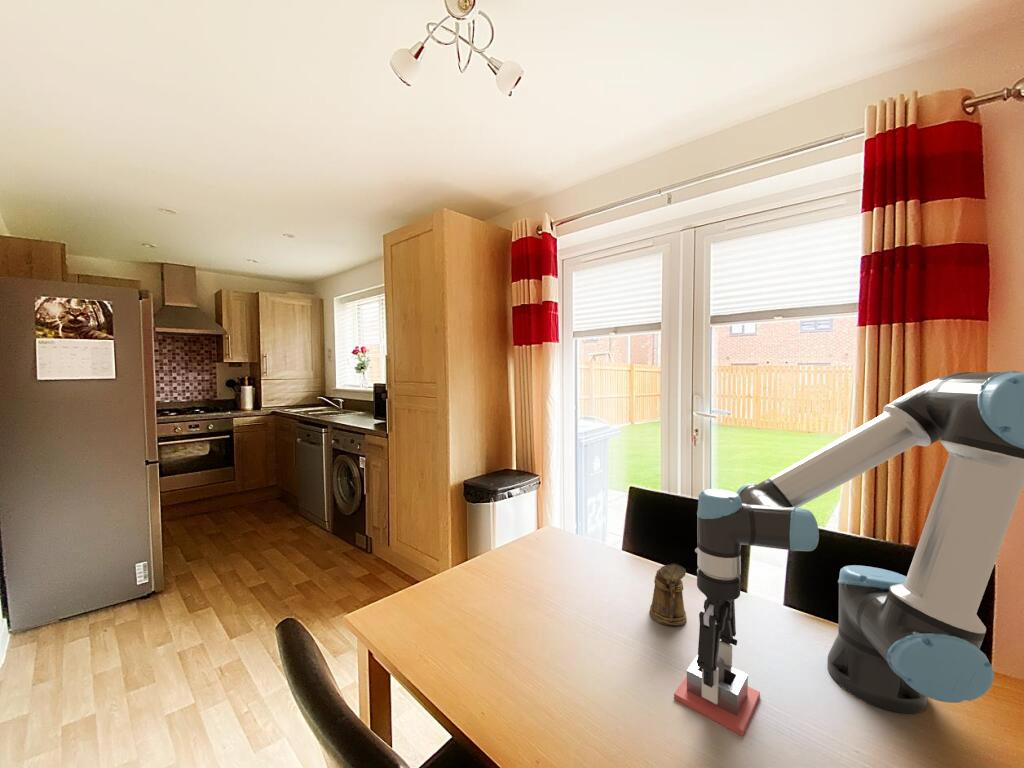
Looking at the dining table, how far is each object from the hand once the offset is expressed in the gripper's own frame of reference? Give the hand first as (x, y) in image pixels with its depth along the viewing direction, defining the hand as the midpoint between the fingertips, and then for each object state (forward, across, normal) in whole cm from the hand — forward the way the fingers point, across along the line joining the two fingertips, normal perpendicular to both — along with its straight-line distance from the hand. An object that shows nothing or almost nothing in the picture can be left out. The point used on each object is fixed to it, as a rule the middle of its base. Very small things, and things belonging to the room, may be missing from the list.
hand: (717, 686), depth 79 cm
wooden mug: (+2, -18, -17) cm, 25 cm away
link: (+1, 0, 0) cm, 1 cm away
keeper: (+2, 0, 0) cm, 2 cm away
